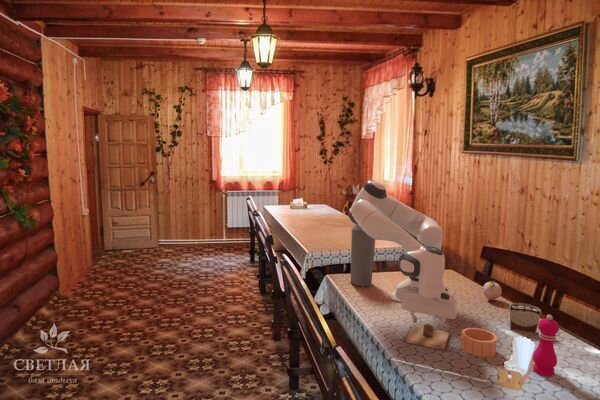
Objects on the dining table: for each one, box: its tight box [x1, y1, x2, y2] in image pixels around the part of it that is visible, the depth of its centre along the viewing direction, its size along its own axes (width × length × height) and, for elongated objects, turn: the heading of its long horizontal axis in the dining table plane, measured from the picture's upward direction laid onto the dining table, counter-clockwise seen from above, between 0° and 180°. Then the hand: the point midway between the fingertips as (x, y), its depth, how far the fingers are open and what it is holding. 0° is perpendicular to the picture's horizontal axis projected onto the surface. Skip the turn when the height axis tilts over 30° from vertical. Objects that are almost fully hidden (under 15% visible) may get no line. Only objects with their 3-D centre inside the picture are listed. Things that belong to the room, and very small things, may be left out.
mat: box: [402, 326, 453, 353], centre depth 175 cm, size 16×16×1 cm
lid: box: [405, 324, 450, 350], centre depth 174 cm, size 14×14×5 cm
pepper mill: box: [532, 314, 560, 377], centre depth 152 cm, size 7×7×20 cm
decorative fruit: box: [482, 280, 503, 301], centre depth 220 cm, size 9×8×10 cm
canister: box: [350, 224, 376, 287], centre depth 237 cm, size 13×13×35 cm
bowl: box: [459, 327, 498, 359], centre depth 167 cm, size 12×12×6 cm
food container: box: [507, 302, 543, 335], centre depth 187 cm, size 12×6×10 cm, turn 71°
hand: (427, 324), depth 174 cm, fingers open, 8 cm apart
